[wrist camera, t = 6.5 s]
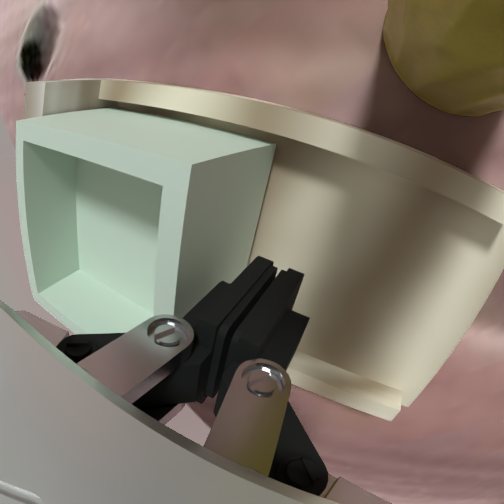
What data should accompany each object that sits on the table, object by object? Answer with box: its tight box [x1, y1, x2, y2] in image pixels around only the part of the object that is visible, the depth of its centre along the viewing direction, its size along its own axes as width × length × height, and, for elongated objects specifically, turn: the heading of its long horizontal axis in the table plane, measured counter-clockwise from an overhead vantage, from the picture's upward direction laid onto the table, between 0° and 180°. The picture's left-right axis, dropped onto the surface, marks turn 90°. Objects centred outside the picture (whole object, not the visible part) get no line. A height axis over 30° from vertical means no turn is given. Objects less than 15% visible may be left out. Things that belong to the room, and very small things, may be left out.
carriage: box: [16, 108, 277, 334], centre depth 13 cm, size 9×9×6 cm
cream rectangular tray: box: [23, 79, 504, 421], centre depth 13 cm, size 22×12×6 cm, turn 76°
